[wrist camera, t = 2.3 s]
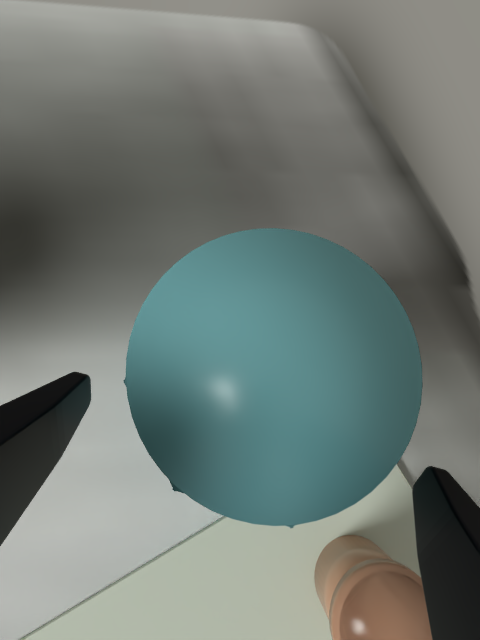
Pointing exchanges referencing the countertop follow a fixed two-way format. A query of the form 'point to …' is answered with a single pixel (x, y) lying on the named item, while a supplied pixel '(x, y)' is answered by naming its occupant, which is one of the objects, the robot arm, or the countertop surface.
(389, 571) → the terracotta pot
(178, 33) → the countertop surface
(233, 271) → the teal rounded cylinder
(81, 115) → the countertop surface
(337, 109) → the countertop surface
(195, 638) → the sage mat
